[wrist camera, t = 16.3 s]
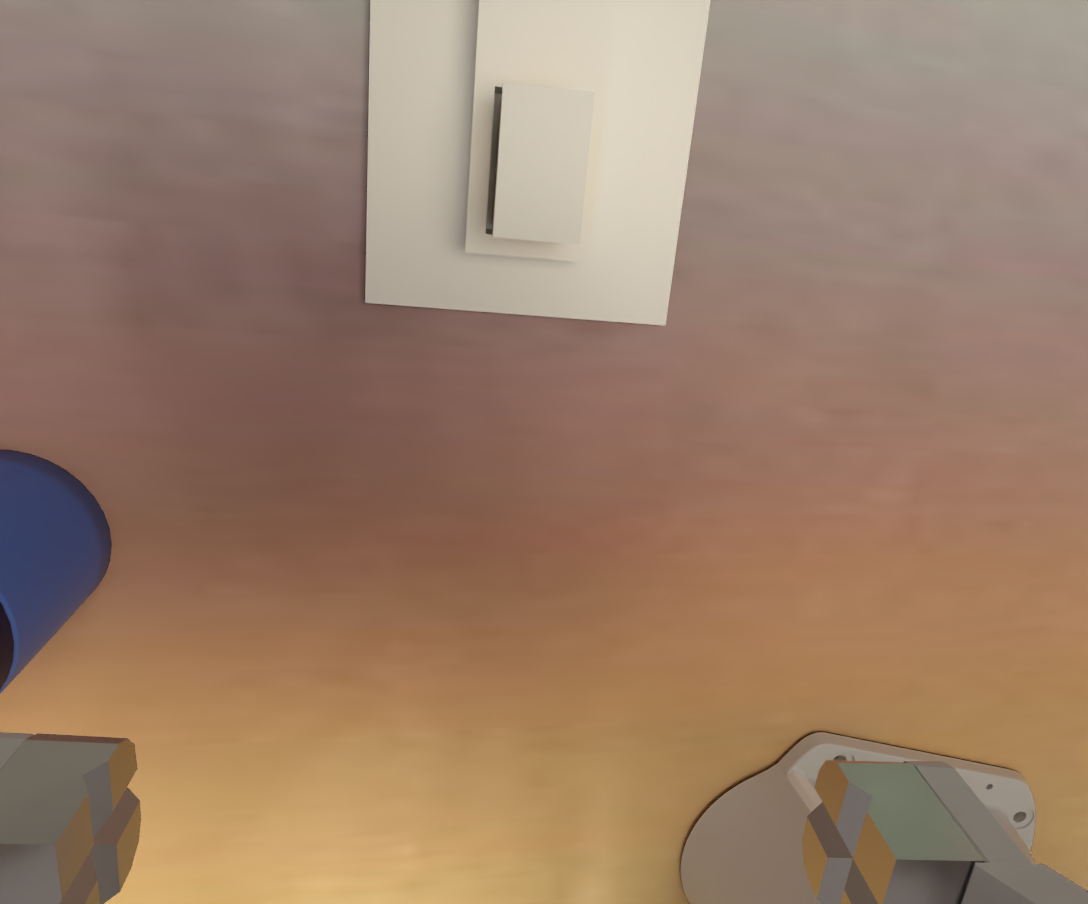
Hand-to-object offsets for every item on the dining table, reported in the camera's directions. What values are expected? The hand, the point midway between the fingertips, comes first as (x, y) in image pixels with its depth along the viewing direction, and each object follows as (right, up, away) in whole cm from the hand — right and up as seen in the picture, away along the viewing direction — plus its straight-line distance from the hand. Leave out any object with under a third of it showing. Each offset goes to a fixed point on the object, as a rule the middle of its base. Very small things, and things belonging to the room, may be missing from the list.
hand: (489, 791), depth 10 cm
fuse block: (0, +21, +25) cm, 33 cm away
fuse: (0, +17, +26) cm, 31 cm away
